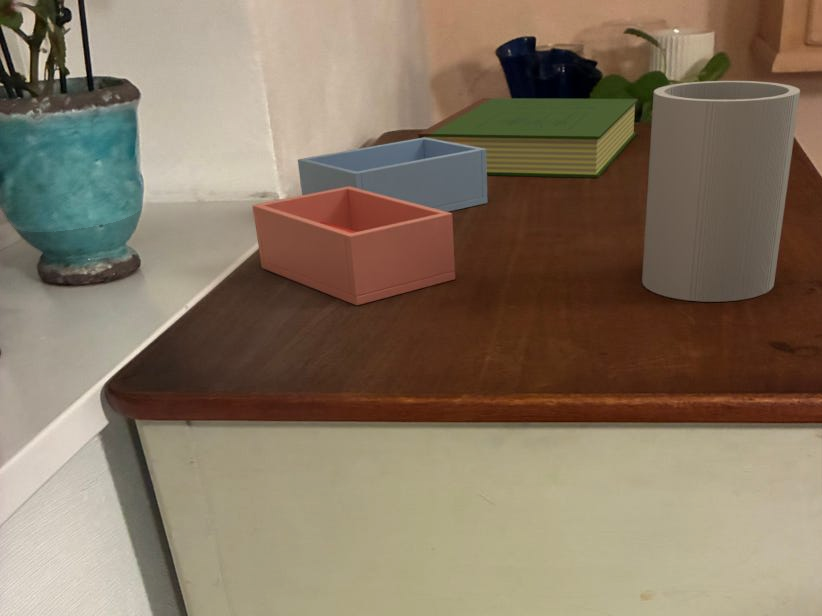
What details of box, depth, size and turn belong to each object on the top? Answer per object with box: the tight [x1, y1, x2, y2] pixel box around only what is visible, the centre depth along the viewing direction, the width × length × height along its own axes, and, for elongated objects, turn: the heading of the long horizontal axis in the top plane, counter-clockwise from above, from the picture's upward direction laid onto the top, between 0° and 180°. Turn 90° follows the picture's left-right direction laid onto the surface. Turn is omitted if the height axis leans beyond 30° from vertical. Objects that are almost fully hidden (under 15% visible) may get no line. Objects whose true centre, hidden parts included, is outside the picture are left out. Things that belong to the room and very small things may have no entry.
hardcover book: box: [417, 97, 638, 179], centre depth 111 cm, size 25×19×4 cm
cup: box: [641, 80, 801, 303], centre depth 68 cm, size 9×9×12 cm
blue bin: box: [297, 137, 488, 213], centre depth 92 cm, size 14×9×5 cm, turn 130°
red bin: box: [251, 186, 456, 306], centre depth 75 cm, size 13×9×5 cm, turn 40°
